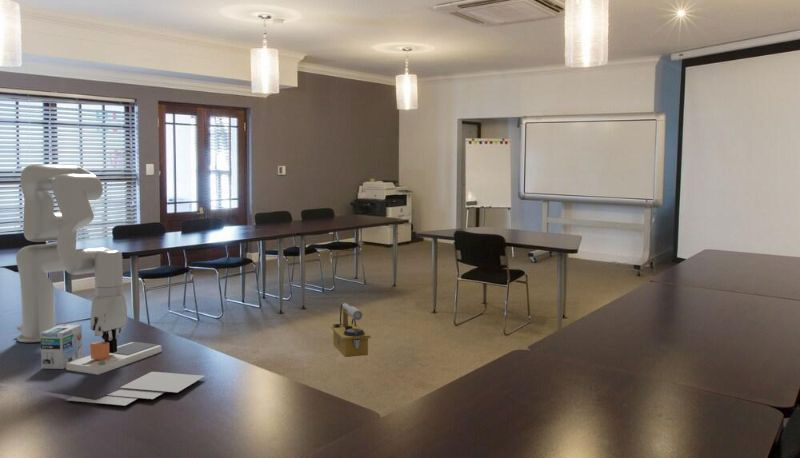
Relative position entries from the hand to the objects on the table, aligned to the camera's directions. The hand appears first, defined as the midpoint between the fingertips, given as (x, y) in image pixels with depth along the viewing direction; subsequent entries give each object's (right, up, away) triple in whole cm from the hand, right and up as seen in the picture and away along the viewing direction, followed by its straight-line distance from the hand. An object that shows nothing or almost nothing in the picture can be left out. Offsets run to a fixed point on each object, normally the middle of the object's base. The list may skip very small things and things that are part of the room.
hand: (110, 351), depth 182 cm
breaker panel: (+1, -3, +2) cm, 4 cm away
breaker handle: (-1, -1, -4) cm, 4 cm away
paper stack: (+18, -5, -22) cm, 29 cm away
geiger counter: (+69, -3, +19) cm, 72 cm away
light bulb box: (-14, -3, -2) cm, 14 cm away
